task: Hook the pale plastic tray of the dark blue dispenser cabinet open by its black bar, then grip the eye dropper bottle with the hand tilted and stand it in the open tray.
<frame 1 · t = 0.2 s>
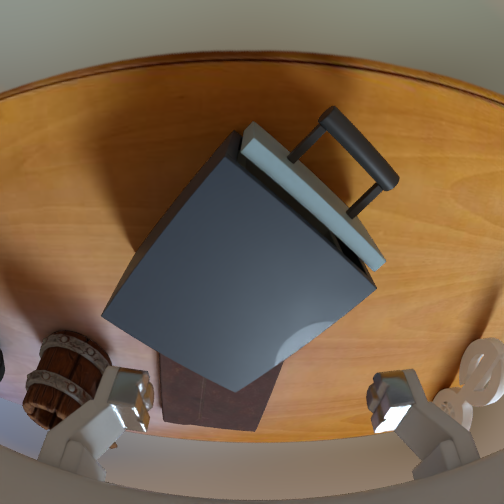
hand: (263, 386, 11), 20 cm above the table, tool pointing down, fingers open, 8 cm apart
mug: (89, 356, 40), on the table
white double disc plate: (454, 372, 43), on the table
cabinet: (236, 240, 30), on the table
brown leather sleeve case: (215, 383, 42), on the table
drawer: (272, 229, 25), point 5 cm above the table, slide at 0.5 cm
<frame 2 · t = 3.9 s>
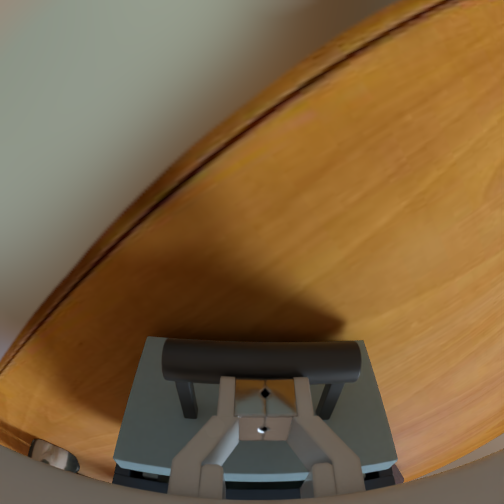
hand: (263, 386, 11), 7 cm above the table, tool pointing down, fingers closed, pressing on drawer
cabinet: (251, 414, 23), on the table
drawer: (253, 441, 17), point 5 cm above the table, slide at 0.8 cm, touching gripper
figurine: (61, 453, 33), on the table
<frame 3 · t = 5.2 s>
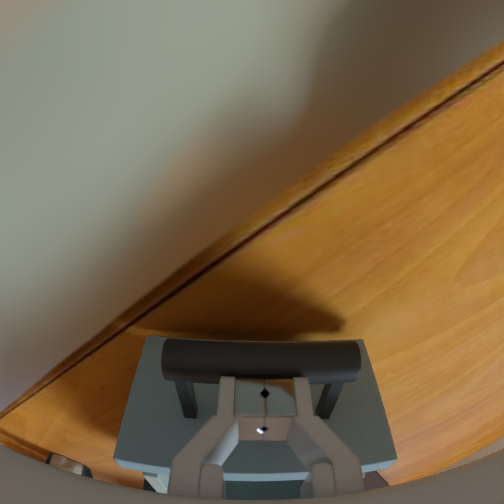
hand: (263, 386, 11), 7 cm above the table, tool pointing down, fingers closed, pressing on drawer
brown leather sleeve case: (329, 485, 37), on the table
drawer: (253, 440, 17), point 5 cm above the table, slide at 6.2 cm, touching gripper
figurine: (75, 465, 36), on the table
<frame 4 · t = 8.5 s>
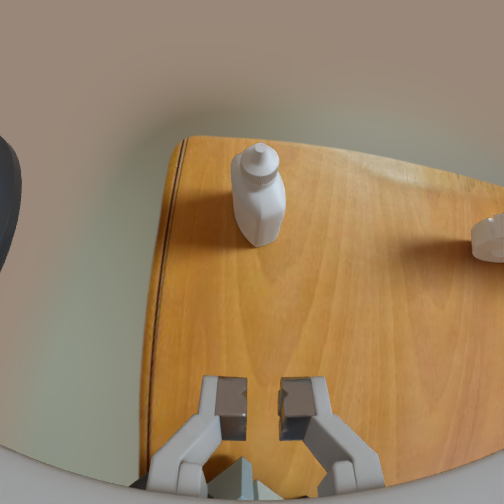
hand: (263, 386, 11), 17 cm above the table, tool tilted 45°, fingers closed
eye dropper bottle: (254, 219, 30), on the table
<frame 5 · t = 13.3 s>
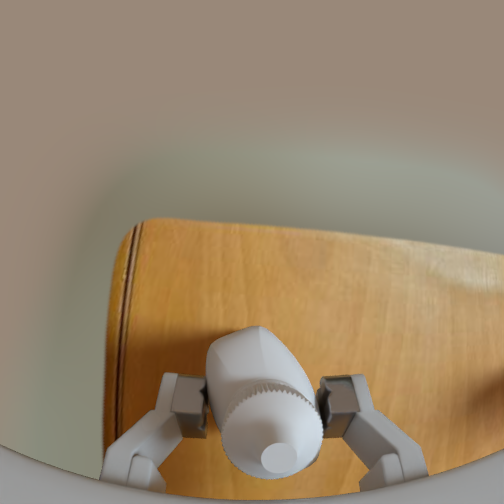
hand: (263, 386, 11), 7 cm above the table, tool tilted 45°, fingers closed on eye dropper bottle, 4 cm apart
eye dropper bottle: (257, 379, 17), on the table, touching gripper
when the fingers open (11 cm above the table, at t = 22.0 s): eye dropper bottle stays where it is, resting on drawer.
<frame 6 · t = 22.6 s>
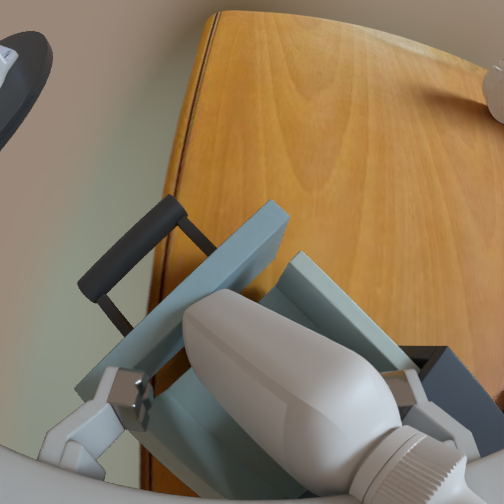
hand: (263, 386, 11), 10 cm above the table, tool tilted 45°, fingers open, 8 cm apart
eye dropper bottle: (222, 346, 14), point 7 cm above the table, touching drawer, gripper
cabinet: (373, 473, 18), on the table
drawer: (247, 371, 16), point 5 cm above the table, slide at 9.0 cm, touching eye dropper bottle
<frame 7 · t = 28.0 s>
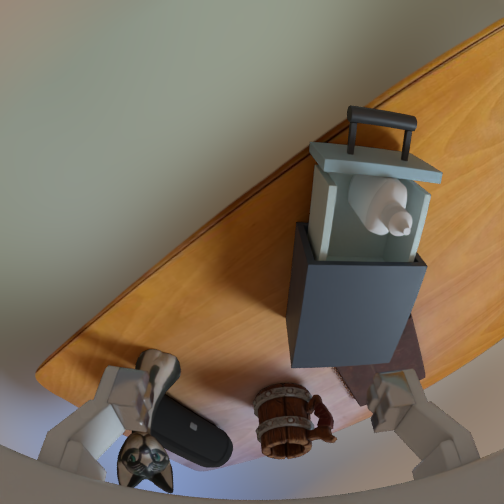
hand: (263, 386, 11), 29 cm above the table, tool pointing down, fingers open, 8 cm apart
mug: (289, 394, 58), on the table
eye dropper bottle: (363, 183, 35), point 2 cm above the table, touching drawer
cabinet: (339, 275, 43), on the table
portable speaker: (180, 408, 61), on the table
brown leather sleeve case: (380, 361, 53), on the table
drawer: (368, 198, 33), point 5 cm above the table, slide at 9.0 cm, touching eye dropper bottle
figurine: (163, 364, 53), on the table
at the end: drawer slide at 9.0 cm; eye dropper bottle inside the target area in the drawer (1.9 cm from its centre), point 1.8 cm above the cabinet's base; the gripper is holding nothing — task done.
